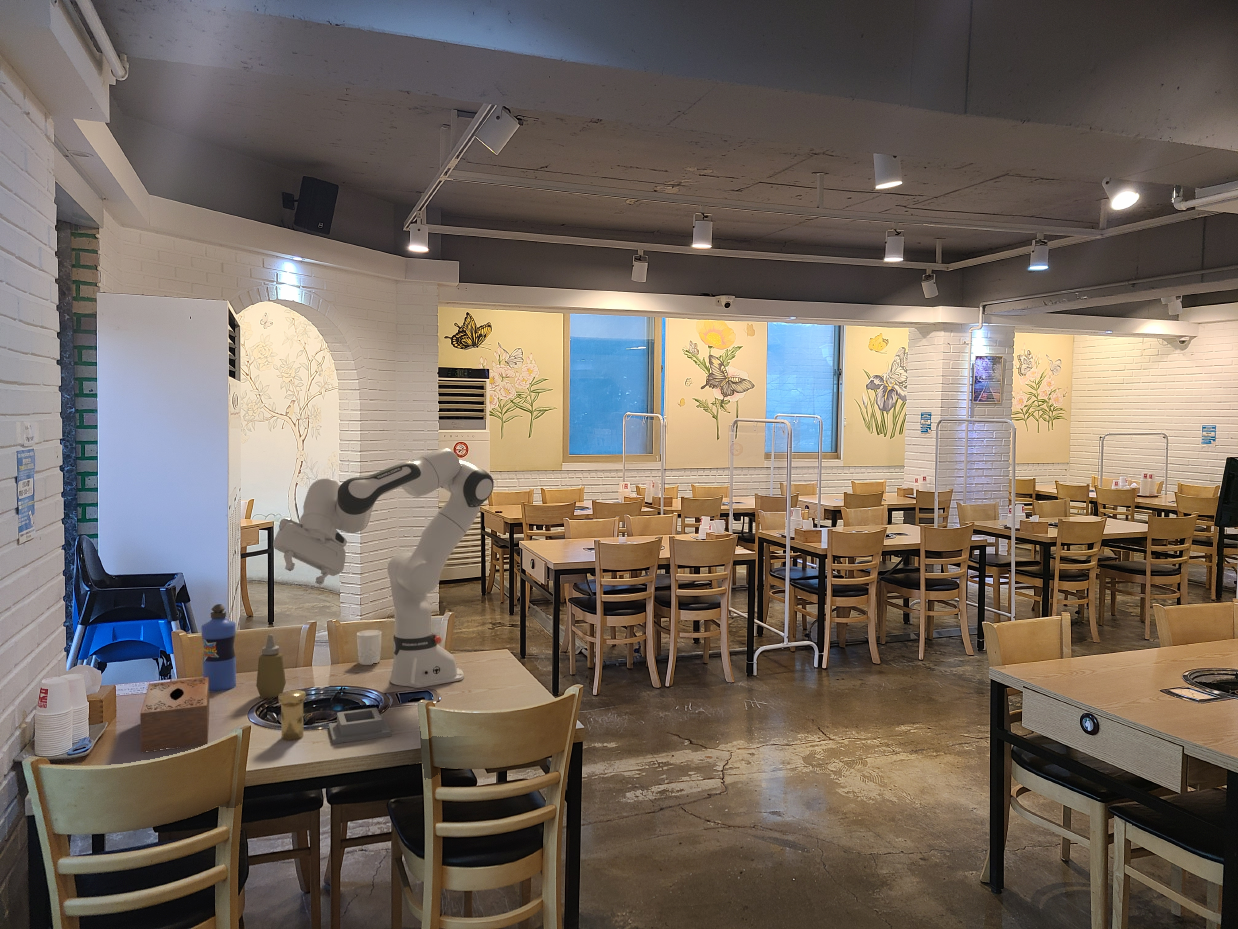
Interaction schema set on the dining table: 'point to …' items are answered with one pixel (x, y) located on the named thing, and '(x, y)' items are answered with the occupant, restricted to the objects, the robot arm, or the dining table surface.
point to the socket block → (358, 726)
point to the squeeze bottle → (270, 671)
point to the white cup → (369, 646)
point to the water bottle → (219, 651)
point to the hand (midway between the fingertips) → (304, 576)
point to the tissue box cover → (175, 714)
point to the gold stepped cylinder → (292, 714)
